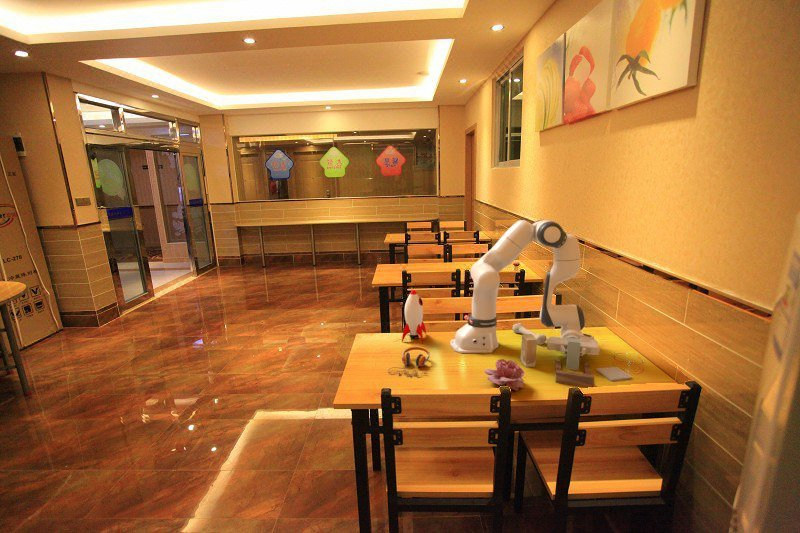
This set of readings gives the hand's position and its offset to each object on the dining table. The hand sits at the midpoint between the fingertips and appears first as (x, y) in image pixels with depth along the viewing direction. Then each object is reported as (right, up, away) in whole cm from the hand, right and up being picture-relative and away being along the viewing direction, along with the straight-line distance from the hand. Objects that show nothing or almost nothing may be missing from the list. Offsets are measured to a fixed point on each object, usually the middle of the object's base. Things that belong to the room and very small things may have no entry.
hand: (573, 353), depth 164 cm
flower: (-31, -10, -11) cm, 34 cm away
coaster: (+14, -7, -4) cm, 16 cm away
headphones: (-65, -7, +7) cm, 66 cm away
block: (+1, -6, +2) cm, 7 cm away
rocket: (-63, -1, +37) cm, 73 cm away
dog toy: (-7, 0, +34) cm, 34 cm away
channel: (-2, -7, -3) cm, 8 cm away
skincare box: (-16, -6, +6) cm, 19 cm away
